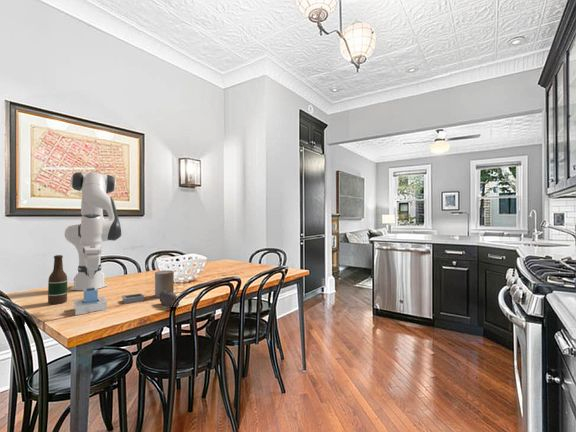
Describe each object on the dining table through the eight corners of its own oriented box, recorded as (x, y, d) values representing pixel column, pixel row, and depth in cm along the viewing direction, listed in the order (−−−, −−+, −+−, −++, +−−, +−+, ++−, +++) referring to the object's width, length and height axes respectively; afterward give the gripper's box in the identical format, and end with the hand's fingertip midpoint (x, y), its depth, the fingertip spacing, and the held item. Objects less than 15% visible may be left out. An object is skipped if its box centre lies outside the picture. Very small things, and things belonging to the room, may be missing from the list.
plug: (83, 307, 144) (83, 288, 144) (96, 305, 147) (96, 286, 147) (84, 309, 141) (84, 289, 141) (97, 307, 145) (97, 288, 145)
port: (74, 308, 145) (74, 300, 145) (103, 304, 153) (103, 296, 153) (75, 315, 136) (75, 306, 136) (106, 310, 143) (106, 301, 143)
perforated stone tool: (182, 308, 148) (183, 294, 148) (172, 311, 144) (172, 296, 144) (168, 302, 158) (168, 289, 158) (158, 304, 154) (158, 290, 154)
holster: (122, 301, 158) (122, 295, 158) (140, 299, 164) (140, 293, 164) (125, 304, 153) (125, 298, 153) (144, 302, 158) (144, 296, 158)
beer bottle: (70, 301, 158) (71, 254, 158) (55, 305, 150) (56, 256, 150) (59, 300, 160) (60, 254, 160) (43, 304, 152) (44, 255, 153)
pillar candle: (176, 294, 174) (176, 268, 174) (168, 299, 164) (168, 271, 165) (160, 294, 175) (160, 268, 175) (151, 298, 165) (151, 270, 165)
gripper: (81, 246, 151) (80, 275, 151) (85, 250, 135) (84, 282, 134) (96, 246, 155) (96, 273, 155) (101, 249, 138) (101, 280, 138)
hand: (90, 277), depth 144 cm, fingers open, 5 cm apart
